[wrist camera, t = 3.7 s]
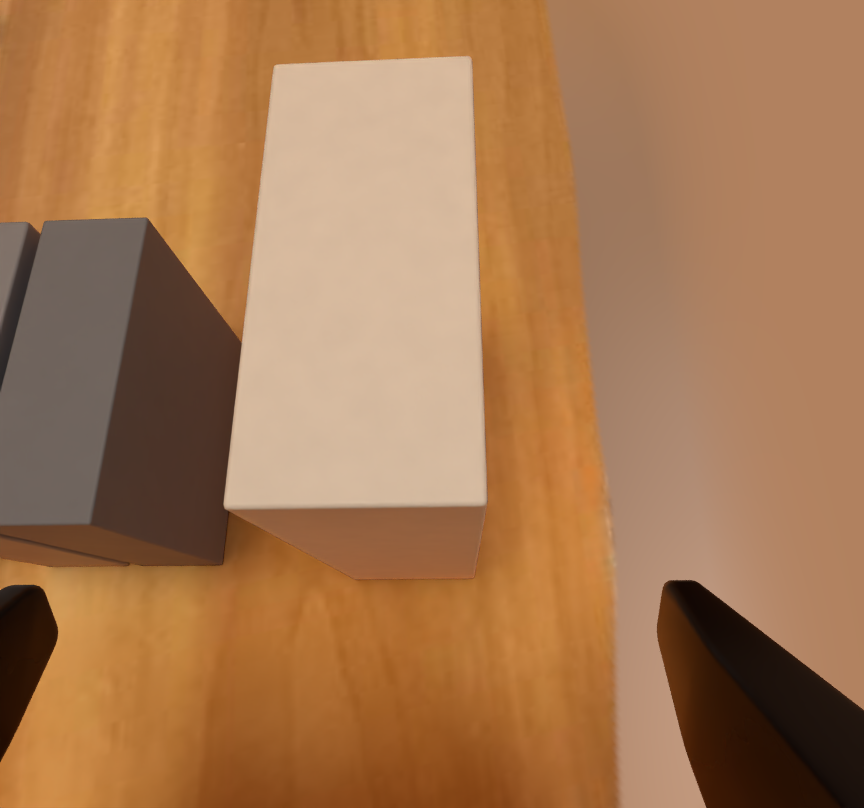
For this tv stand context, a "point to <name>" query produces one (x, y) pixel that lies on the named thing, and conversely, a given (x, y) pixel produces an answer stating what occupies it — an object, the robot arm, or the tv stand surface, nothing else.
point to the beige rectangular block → (366, 323)
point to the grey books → (110, 399)
